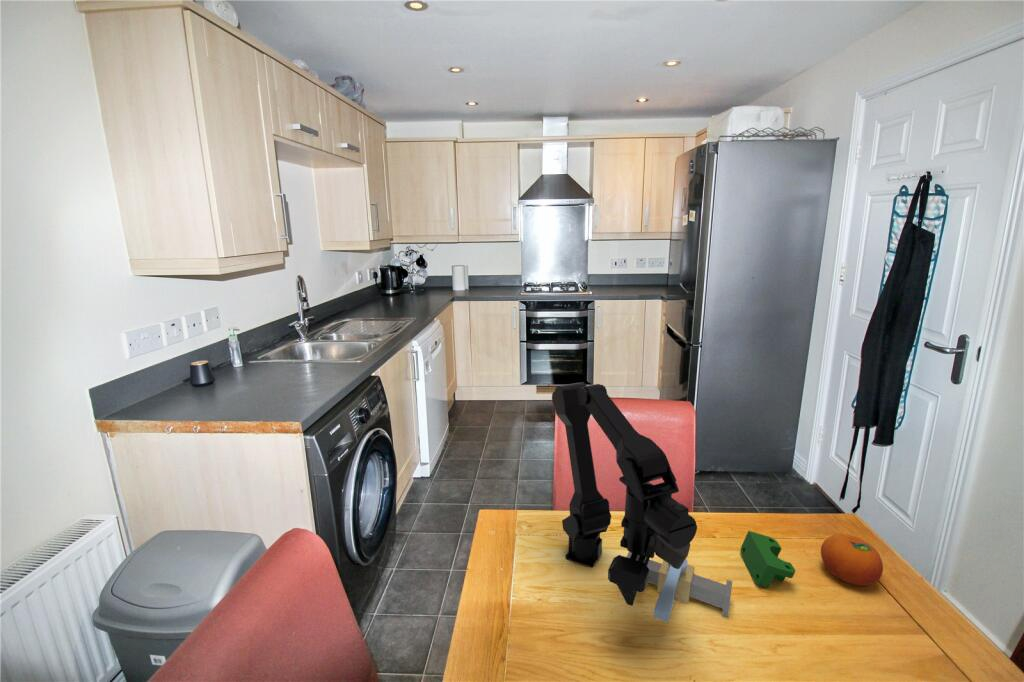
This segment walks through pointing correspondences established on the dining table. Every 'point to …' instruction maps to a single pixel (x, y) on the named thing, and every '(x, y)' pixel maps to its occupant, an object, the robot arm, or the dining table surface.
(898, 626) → the dining table surface
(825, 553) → the fruit
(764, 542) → the green bracket
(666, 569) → the pipe valve
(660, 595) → the lever
